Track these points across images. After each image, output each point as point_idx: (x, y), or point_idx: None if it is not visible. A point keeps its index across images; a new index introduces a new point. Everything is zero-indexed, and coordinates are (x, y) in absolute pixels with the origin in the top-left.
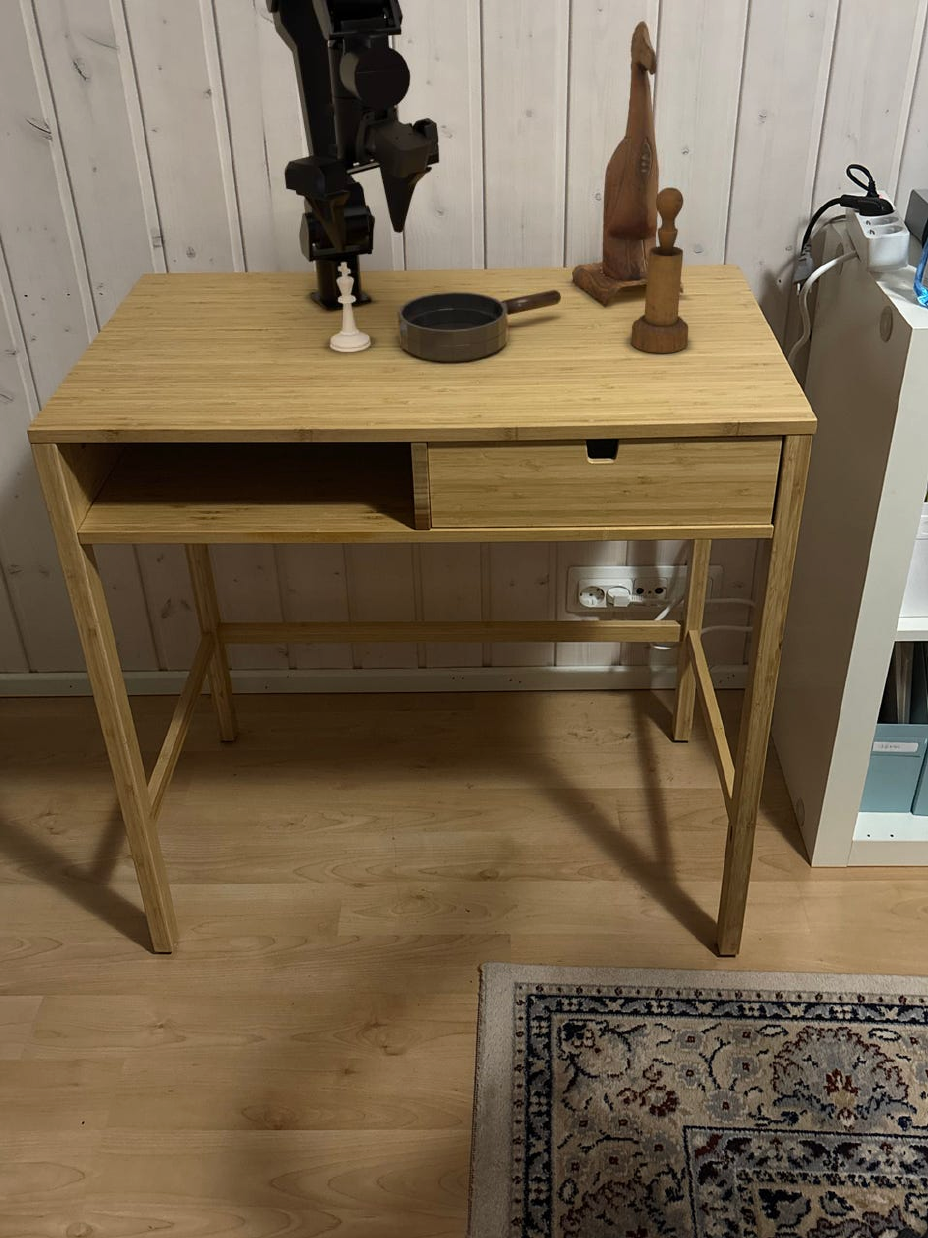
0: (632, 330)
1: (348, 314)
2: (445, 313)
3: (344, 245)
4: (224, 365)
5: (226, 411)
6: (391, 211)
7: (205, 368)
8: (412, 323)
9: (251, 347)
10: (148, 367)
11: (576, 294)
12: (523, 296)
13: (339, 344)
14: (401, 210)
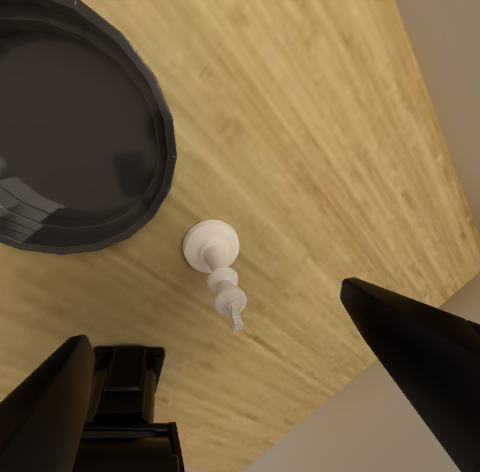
0: None
1: (223, 262)
2: (28, 214)
3: (359, 284)
4: (340, 282)
5: (421, 182)
6: (72, 437)
7: None
8: (116, 215)
9: (293, 305)
10: None
11: None
12: None
13: (237, 240)
14: (36, 415)
